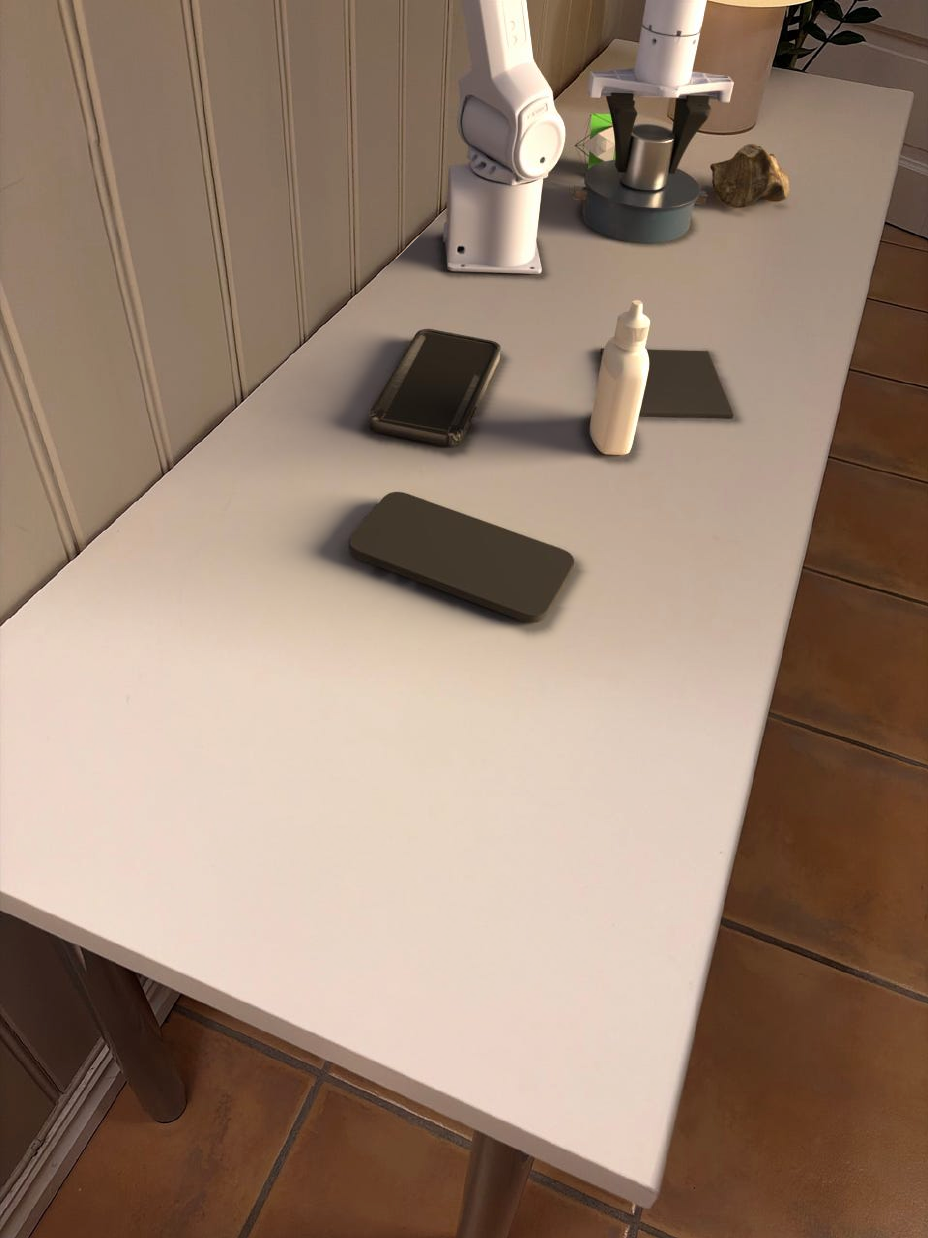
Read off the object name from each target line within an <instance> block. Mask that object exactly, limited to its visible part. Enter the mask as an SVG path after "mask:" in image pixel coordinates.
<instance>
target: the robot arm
mask: <svg viewBox="0 0 928 1238" xmlns="http://www.w3.org/2000/svg"><path fill="white" fill-rule="evenodd" d="M707 1H708V0H645V4H644V11H643V15H642V23H641V28H640V34H639V40H638V46H637V53H636V58H635V64H634V67H630V68H629V67H627V68H619V69H609V70H590V71H589V74H588V82H587V90H586V91H587V94H588V96H589V98H591V99H600V98H601V97H605V99H606V102H607V103H606V104H607V106H608V111H609V114H610V115H611V120H612V125H613V131H614V139H615V166H616V169H617V171H618V172H621V173H625V169H626V165H627V159H628V151H629V143H630V138H631V134H632V130H633V126H634V125H635V123H636V120H637V115H638V111H637V108H636V107H635V105H636V100H635V99H634V98H658V99H675V102H674V103H675V104H674V114H673V122H672V128H671V130H672V131H673V132H674V133H675V135H676V137H675V142H674V147H673V152H672V157H671V161H670V166H669V171H668V173H669V174H675V173H676V170H677V169H678V167H679V165H680V163H681V160H682V158H683V156H684V154H685V152H686V151H687V149H688V147H689V145H690V143H691V142H692V140H693V138H694V137H695V136H696V134H697V133H698V131H699V130H700V128H702V126H703V125H704V123H705V122H706V121H708V119H709V117H710V114H711V112H712V111H711V110H712V107H711V105H710V104H709V102H710V100H713V101H714V100H716V101H718V102H719V103H730V101H731V97H732V92H733V88H734V84H735V82H734V81H733V79H732V78H731V77H730V76H729V75H721V74H713V73H706V72H699V71H693V69H694V64H695V58H696V55H697V49H698V44H699V40H700V35H701V30H702V25H703V21H704V17H705V16H704V15H705V12H706V11H705V10H706V6H707ZM460 4H461V11H462V16H463V23H464V29H465V35H466V40H467V41H466V42H467V46H468V52H469V58H470V66H469V67H468V68H467V69H466V70H465V71H464V72H463V73H462V75H460V77H459V78H458V81H457V84H458V89H459V105H458V110H457V117H456V128H457V131H458V134H459V137H460V138H461V140H462V141H463V143H464V144H465V145H467V151H466V152H467V154H466V158H467V159H468V160H469V161H468V162H466V163H461V164H451V165H449V166H448V174H447V175H448V176H447V193H446V195H447V196H446V216H445V217H446V218H445V222H444V223H443V230H442V231H443V232H442V235H443V236H442V241H443V243H445V252H446V253H445V254H446V266H447V267H446V269H447V270H448V271H450V272H461V273H462V272H463V273H465V272H466V273H493V274H494V273H497V274H498V273H499V274H500V273H501V274H525V275H526V274H527V275H528V274H529V275H534V274H535V275H538V274H539V275H540V274H541V273H542V264H541V260H540V255H539V250H538V245H537V236H538V227H539V217H540V211H541V210H540V209H541V201H542V191H543V183H544V179H546V178H548V177H549V173H550V172H551V171H552V169H553V168H555V166H556V164H557V163H558V161H559V159H560V157H561V155H562V153H563V151H564V146H565V142H566V127H565V122H564V121H563V118H562V116H561V115H560V113H558V111H557V109H556V106H555V102H554V95H553V90H552V88H551V86H550V85H549V83H548V81H547V79H546V78H545V77H544V75H543V74H542V73H543V72H541V70H540V68H539V66H538V65H537V64H536V62H535V60H534V56H533V55H534V54H533V48H532V39H531V29H530V22H529V13H528V7H527V6H528V3H527V0H460Z"/></svg>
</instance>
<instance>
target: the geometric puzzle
mask: <svg viewBox="0 0 928 1238" xmlns="http://www.w3.org/2000/svg"><path fill="white" fill-rule="evenodd" d="M587 123H588V124H587ZM586 125H587V128H586V132H585V135H584V138H583V139H581V140H580V141H578V142H576V143H575V144H573V145H574V147H575V149H576V150H580V151H581V152H582V153H583V156H584V158H586V156H587V157H588V164H587V163H586V161H587V160H586V159H584V162H585V164H587V165H588V166H585V167H583V168H584V170H585V171H587V170H588V169H589V168H590V167H592V166H594V165H596V164H598V163H601V162H605V161H609V160H615V139H614V131H613V125H612V120H611V115H610V112H609V113H607V112H605V113H604V112H602V113H601V112H591V113H590V115H589V117H588V119H587V122H586V124H585V125H584V127H586ZM589 125H590V132H589V134H588V135H587V132H588V129H589ZM588 137H589V139H588V140H587V141H586V142H585V140H586V139H587V138H588ZM582 141H583V142H582ZM581 142H582V144H581V146H582V149H583V150H582V149H581V148H580V147H579V145H580V143H581ZM585 149H587V151H588V154H587V153H586V152H585ZM577 154H578V155H580V153H579V152H577ZM585 155H586V156H585ZM579 159H580V160H582V158H581V157H579ZM581 163H582V165H584V164H583V162H581Z"/></svg>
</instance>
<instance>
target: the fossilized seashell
mask: <svg viewBox="0 0 928 1238" xmlns="http://www.w3.org/2000/svg"><path fill="white" fill-rule="evenodd" d="M709 168H710V170H711V173H712V178H711V185H712V190H713V192H714V195H715V196H716V198H717V199H718V200H719V201H720V202H721V203H723V205H725V206H726V207H729V208H733V209H742V208H746V207H748V206H751V205H752V204H755V202H756V201H757V200H764V201H768V202H773V203H774V202H776V203H777V202H781V201H784V200H786V199H787V198H788V196H789V195H790V181H789V177H788V175H787V173H786V172H785V171H784V169H783V168H782V166H781V165H780V164H779V163H778V162H777V157H776V155H775V153H769V152H768V151H766V149H764V148H763V147H762V146H761V145H758V144H755V143H748V144H746V145H744V146H743V147H741V148H740V149H739V150H737V151H736V153H735V154H734V156H732V158H730V159H727V160H724V161H719V162H714V163H711V164H710V166H709Z"/></svg>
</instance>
